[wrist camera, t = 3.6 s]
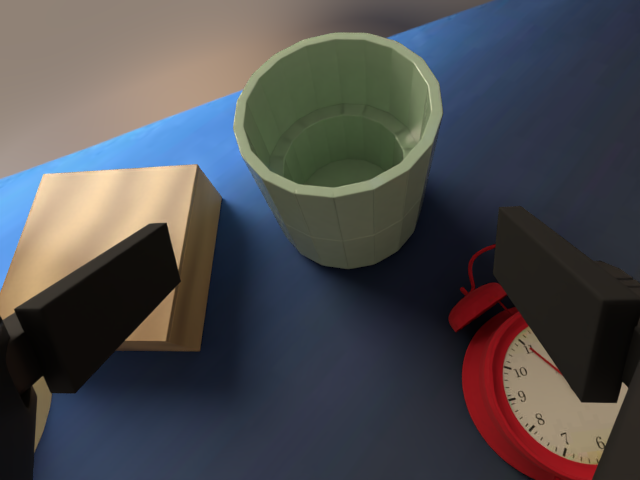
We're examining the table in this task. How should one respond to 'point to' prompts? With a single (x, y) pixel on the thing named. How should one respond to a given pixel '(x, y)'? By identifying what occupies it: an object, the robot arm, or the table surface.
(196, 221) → the box stand
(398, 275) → the table surface
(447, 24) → the table surface
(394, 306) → the table surface
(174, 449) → the table surface
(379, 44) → the plant pot
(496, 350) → the alarm clock
